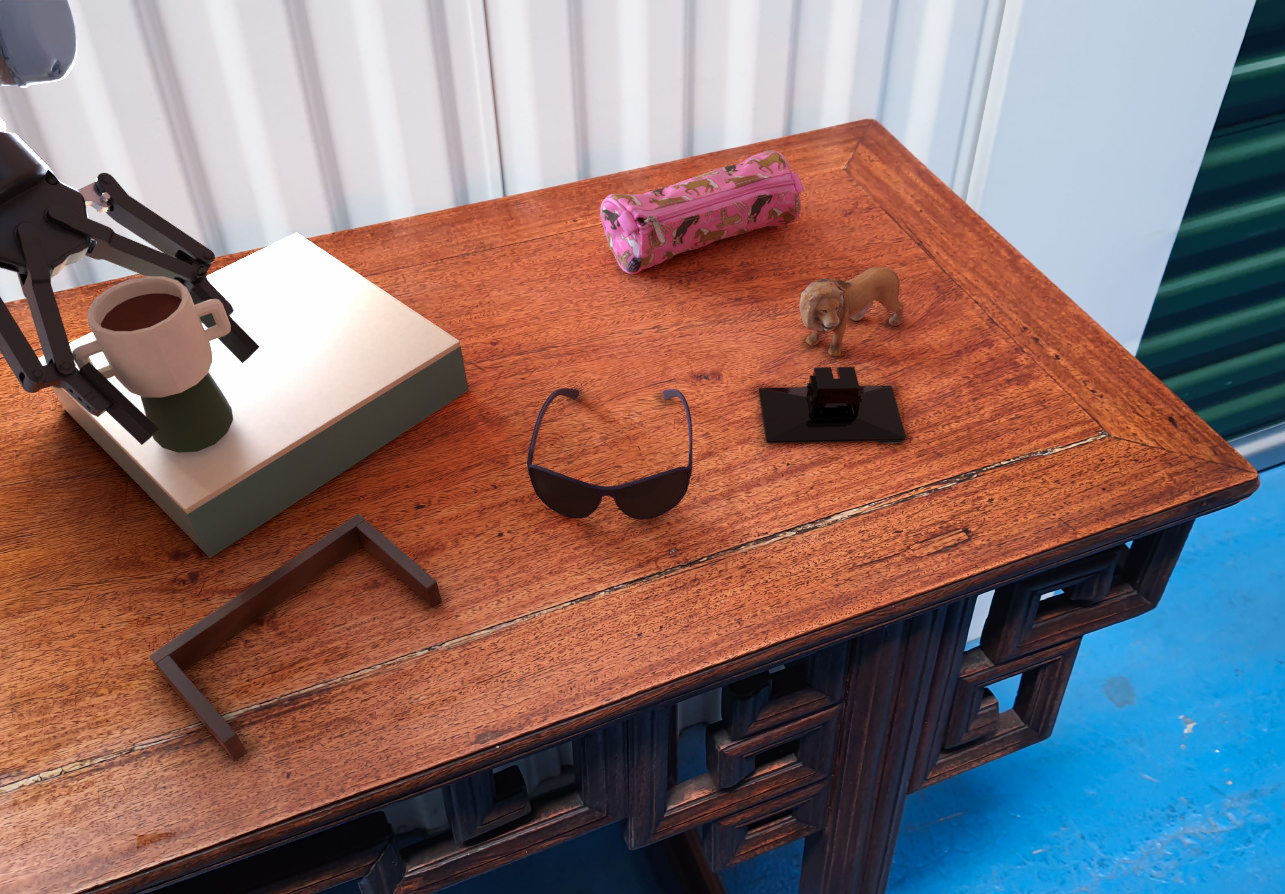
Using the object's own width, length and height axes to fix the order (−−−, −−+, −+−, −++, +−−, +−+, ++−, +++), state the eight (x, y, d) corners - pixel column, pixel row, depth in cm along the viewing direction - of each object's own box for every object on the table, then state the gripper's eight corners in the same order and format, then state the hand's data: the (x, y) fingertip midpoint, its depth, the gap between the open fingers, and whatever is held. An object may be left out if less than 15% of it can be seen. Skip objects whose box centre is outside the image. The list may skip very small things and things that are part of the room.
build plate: (890, 389, 93) (899, 350, 90) (906, 444, 88) (916, 406, 85) (758, 390, 93) (762, 352, 89) (766, 445, 88) (771, 407, 84)
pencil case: (633, 295, 103) (632, 221, 97) (595, 250, 109) (591, 178, 103) (805, 239, 110) (814, 167, 104) (760, 200, 116) (767, 129, 110)
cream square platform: (210, 558, 80) (184, 509, 75) (63, 408, 92) (34, 359, 88) (469, 390, 93) (460, 340, 89) (311, 280, 106) (296, 232, 102)
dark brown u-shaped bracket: (234, 761, 67) (223, 743, 65) (161, 674, 72) (148, 655, 70) (442, 600, 76) (437, 581, 75) (364, 532, 81) (358, 512, 79)
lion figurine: (821, 383, 93) (833, 306, 87) (778, 356, 96) (787, 280, 90) (915, 316, 100) (932, 240, 94) (872, 292, 103) (887, 218, 97)
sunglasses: (526, 523, 82) (520, 483, 78) (544, 394, 93) (540, 353, 89) (692, 526, 81) (693, 485, 78) (690, 395, 92) (691, 354, 89)
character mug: (247, 382, 85) (198, 255, 76) (276, 429, 81) (227, 301, 72) (117, 433, 81) (47, 305, 72) (140, 486, 77) (69, 357, 68)
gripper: (84, 119, 80) (285, 329, 86) (-189, 264, 66) (74, 502, 72) (104, 69, 74) (318, 297, 80) (-190, 215, 61) (95, 477, 67)
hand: (202, 394), depth 76 cm, fingers closed on character mug, 10 cm apart
